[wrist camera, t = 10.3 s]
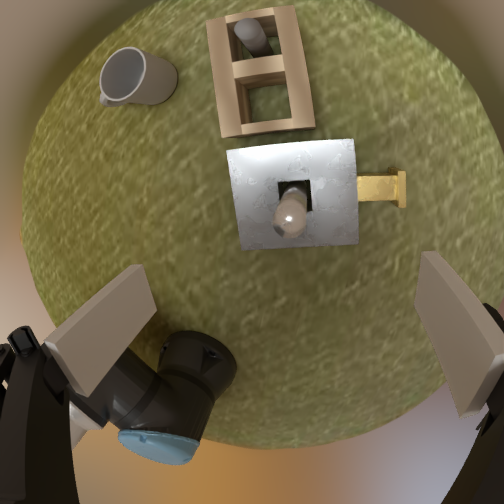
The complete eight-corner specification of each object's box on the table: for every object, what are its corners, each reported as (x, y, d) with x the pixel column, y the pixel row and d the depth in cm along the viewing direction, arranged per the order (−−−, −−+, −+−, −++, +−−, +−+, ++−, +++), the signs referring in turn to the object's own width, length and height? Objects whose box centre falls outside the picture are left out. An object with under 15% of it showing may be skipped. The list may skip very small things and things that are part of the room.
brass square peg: (324, 202, 36) (326, 210, 32) (321, 169, 34) (323, 173, 30) (395, 199, 33) (405, 207, 29) (395, 167, 32) (405, 171, 28)
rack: (237, 137, 35) (212, 137, 26) (223, 38, 29) (196, 11, 20) (314, 129, 32) (316, 124, 23) (296, 27, 27) (291, -7, 18)
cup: (186, 88, 33) (154, 77, 25) (133, 124, 36) (95, 125, 28) (168, 51, 31) (134, 36, 23) (118, 88, 34) (80, 84, 26)
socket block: (251, 234, 39) (241, 250, 34) (239, 148, 35) (226, 150, 30) (351, 228, 36) (358, 244, 31) (346, 139, 32) (353, 138, 27)
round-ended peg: (288, 198, 36) (274, 239, 22) (286, 178, 36) (270, 207, 21) (308, 196, 36) (307, 237, 21) (306, 177, 35) (304, 204, 20)
